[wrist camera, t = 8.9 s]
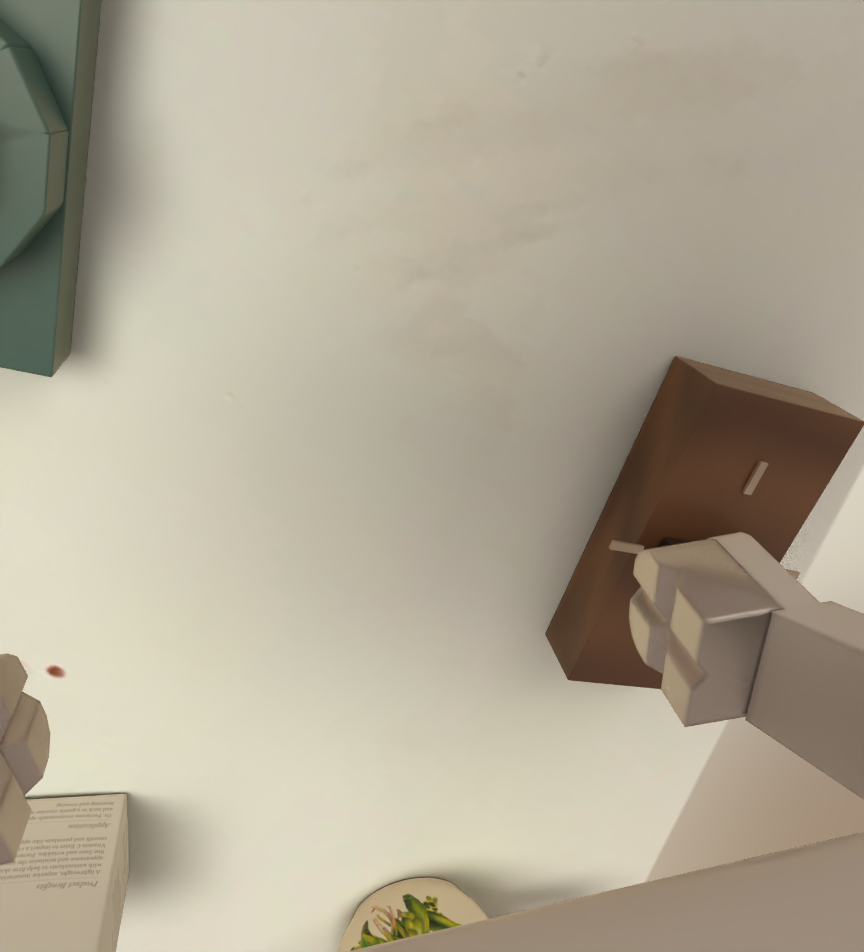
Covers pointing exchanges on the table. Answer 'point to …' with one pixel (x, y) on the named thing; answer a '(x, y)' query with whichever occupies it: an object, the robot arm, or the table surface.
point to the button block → (42, 173)
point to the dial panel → (696, 499)
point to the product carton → (67, 877)
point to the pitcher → (409, 912)
